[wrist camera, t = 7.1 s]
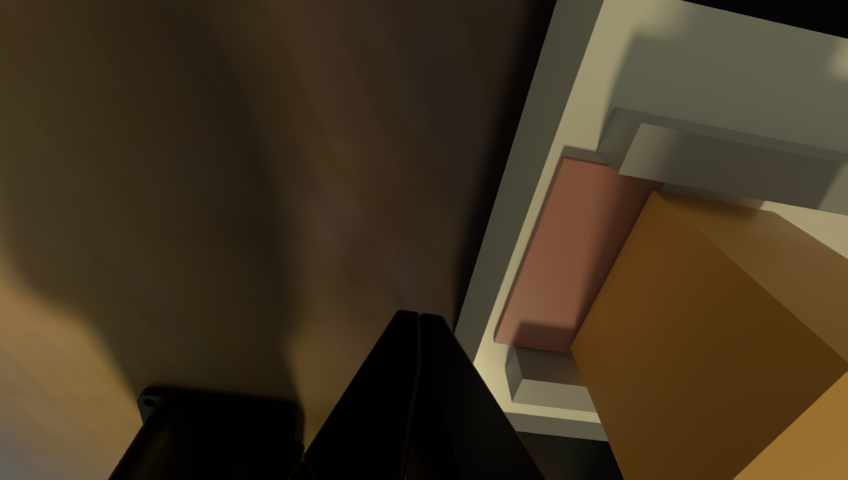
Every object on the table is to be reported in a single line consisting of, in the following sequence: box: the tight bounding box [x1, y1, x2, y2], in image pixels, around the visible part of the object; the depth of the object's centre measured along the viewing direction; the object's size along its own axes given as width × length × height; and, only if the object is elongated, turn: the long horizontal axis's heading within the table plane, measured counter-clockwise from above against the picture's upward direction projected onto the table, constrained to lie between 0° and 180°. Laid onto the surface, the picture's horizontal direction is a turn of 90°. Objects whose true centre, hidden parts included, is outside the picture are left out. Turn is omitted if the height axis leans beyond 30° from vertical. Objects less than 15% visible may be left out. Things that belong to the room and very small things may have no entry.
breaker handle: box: [570, 190, 848, 480], centre depth 8 cm, size 3×5×5 cm, turn 169°
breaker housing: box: [454, 0, 848, 423], centre depth 12 cm, size 18×12×4 cm, turn 79°
